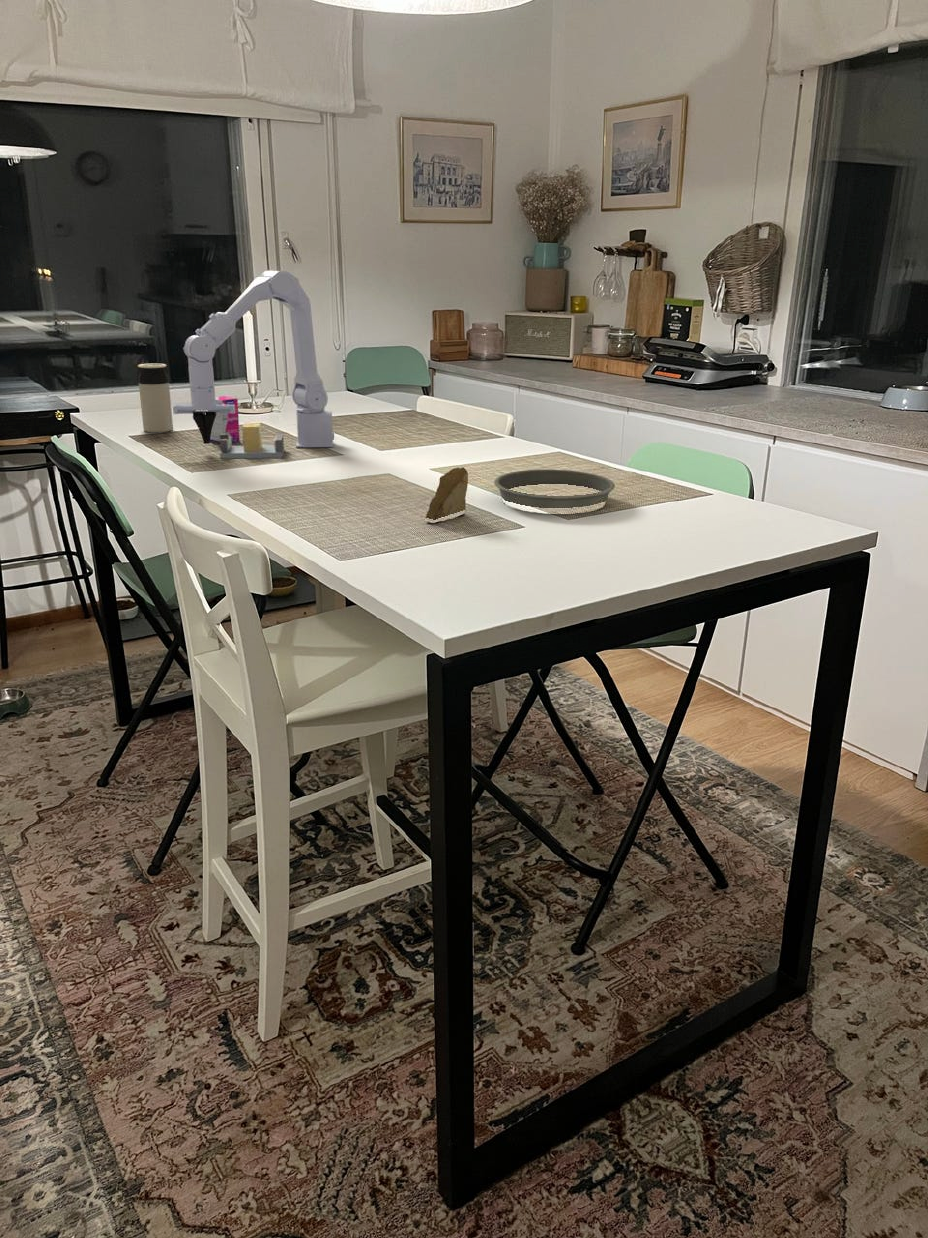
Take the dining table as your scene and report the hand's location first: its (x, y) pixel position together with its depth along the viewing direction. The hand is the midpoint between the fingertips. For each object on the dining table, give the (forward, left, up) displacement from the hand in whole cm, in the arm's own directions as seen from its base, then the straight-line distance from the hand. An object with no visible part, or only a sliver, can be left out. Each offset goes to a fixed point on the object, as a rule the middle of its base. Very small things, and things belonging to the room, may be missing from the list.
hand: (207, 442), depth 237 cm
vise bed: (-11, 0, -3) cm, 11 cm away
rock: (-51, +66, -3) cm, 84 cm away
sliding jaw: (-4, 0, -1) cm, 5 cm away
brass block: (-11, 0, -2) cm, 11 cm away
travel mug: (+18, -36, -3) cm, 40 cm away
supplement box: (-2, -18, -3) cm, 18 cm away
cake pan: (-75, +55, -3) cm, 93 cm away
